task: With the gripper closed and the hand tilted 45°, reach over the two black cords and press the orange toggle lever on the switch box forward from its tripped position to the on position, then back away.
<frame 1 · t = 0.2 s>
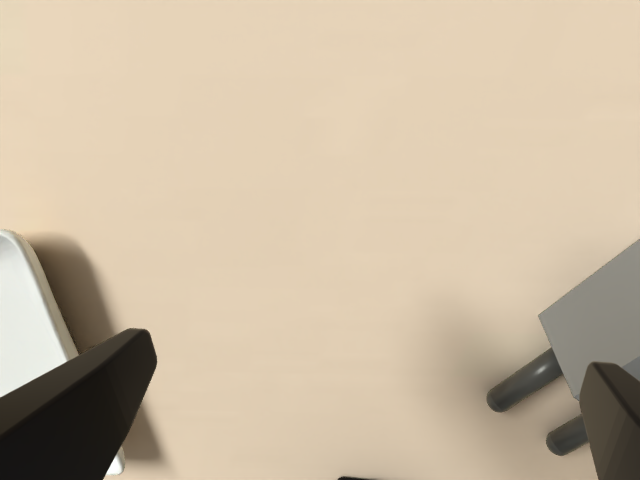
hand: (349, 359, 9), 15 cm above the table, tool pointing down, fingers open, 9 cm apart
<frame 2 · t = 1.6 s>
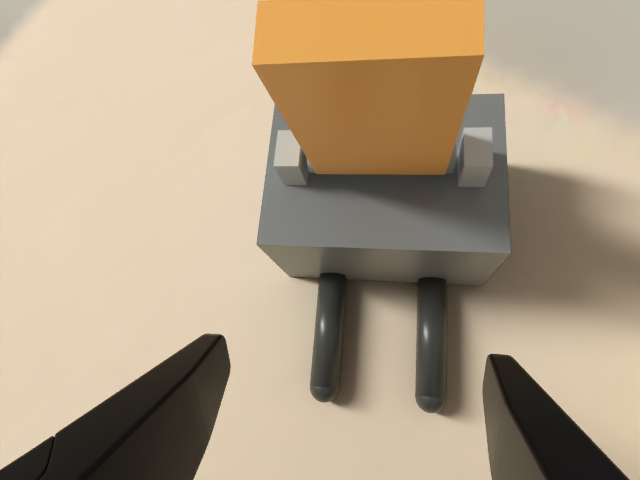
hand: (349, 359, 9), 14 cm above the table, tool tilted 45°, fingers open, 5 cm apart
switch box: (384, 218, 24), on the table
toggle lever: (374, 114, 14), point 11 cm above the table, hinge at -8.0°
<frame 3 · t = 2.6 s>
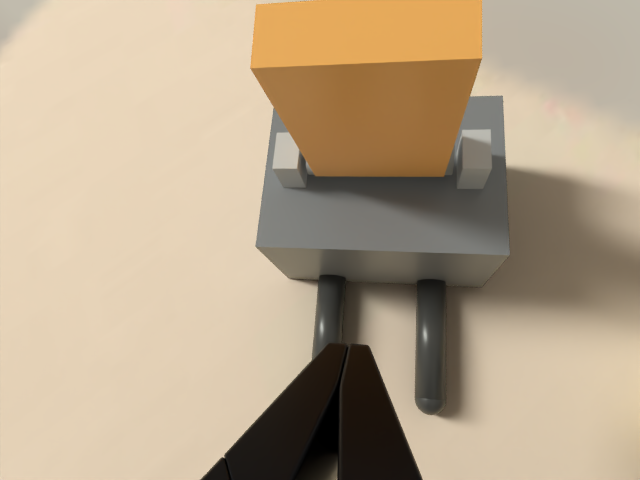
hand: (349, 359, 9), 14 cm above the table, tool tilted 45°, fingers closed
switch box: (383, 220, 24), on the table
toggle lever: (373, 116, 14), point 11 cm above the table, hinge at -8.0°
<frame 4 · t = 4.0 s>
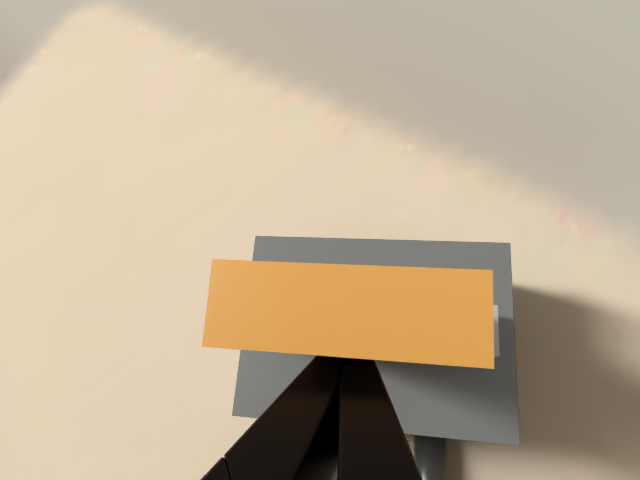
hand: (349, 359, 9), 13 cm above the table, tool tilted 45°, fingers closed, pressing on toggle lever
switch box: (378, 342, 22), on the table
toggle lever: (362, 320, 12), point 11 cm above the table, hinge at -5.2°, touching gripper
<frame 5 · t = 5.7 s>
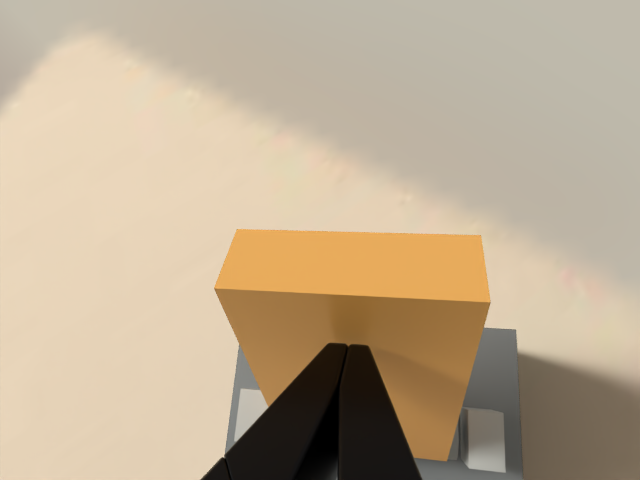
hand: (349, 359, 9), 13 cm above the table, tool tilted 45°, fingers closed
switch box: (375, 411, 21), on the table
toggle lever: (359, 370, 12), point 10 cm above the table, hinge at 26.4°
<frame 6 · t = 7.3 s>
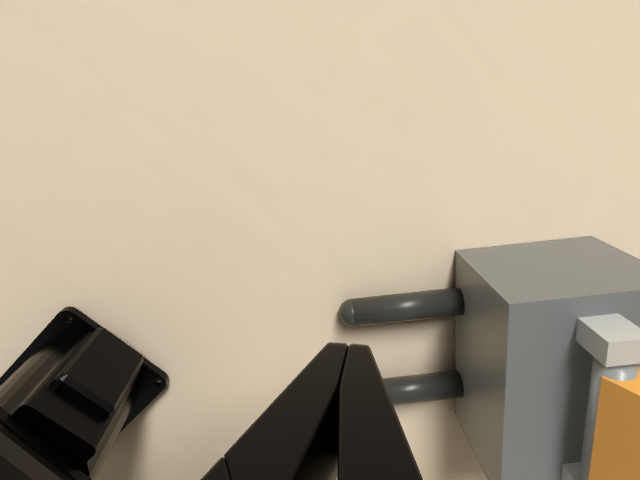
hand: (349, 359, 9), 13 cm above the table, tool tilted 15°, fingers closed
switch box: (518, 329, 24), on the table
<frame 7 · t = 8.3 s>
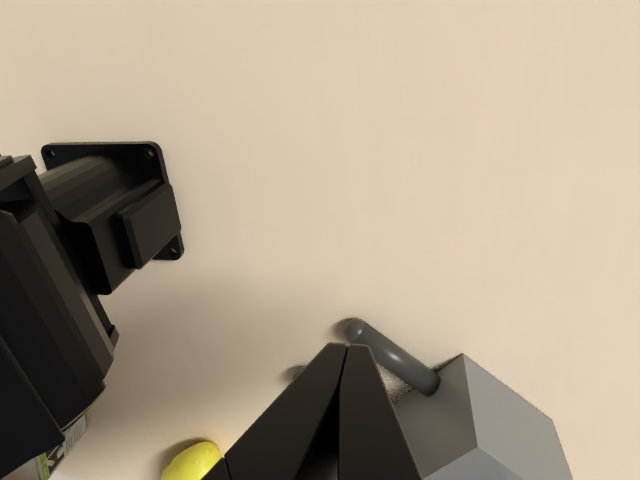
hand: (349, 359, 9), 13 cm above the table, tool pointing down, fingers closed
switch box: (445, 428, 28), on the table
coffee box: (30, 383, 33), on the table
yellow oval piece: (200, 458, 34), on the table
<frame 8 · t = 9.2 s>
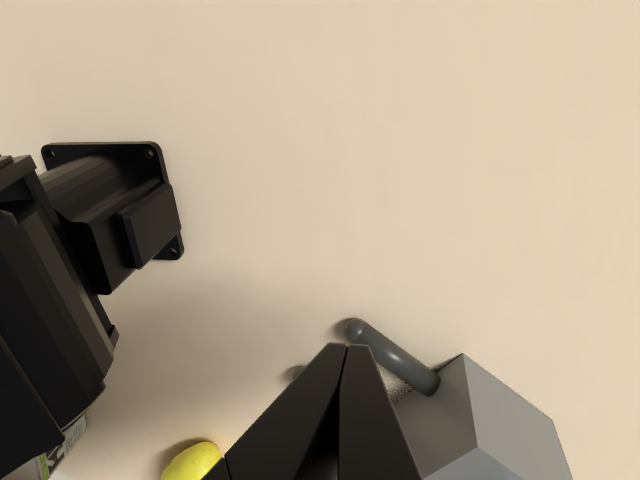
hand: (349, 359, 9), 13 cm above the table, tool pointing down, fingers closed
switch box: (445, 428, 28), on the table
coffee box: (30, 383, 33), on the table
yellow oval piece: (200, 458, 34), on the table
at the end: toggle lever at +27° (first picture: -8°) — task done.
